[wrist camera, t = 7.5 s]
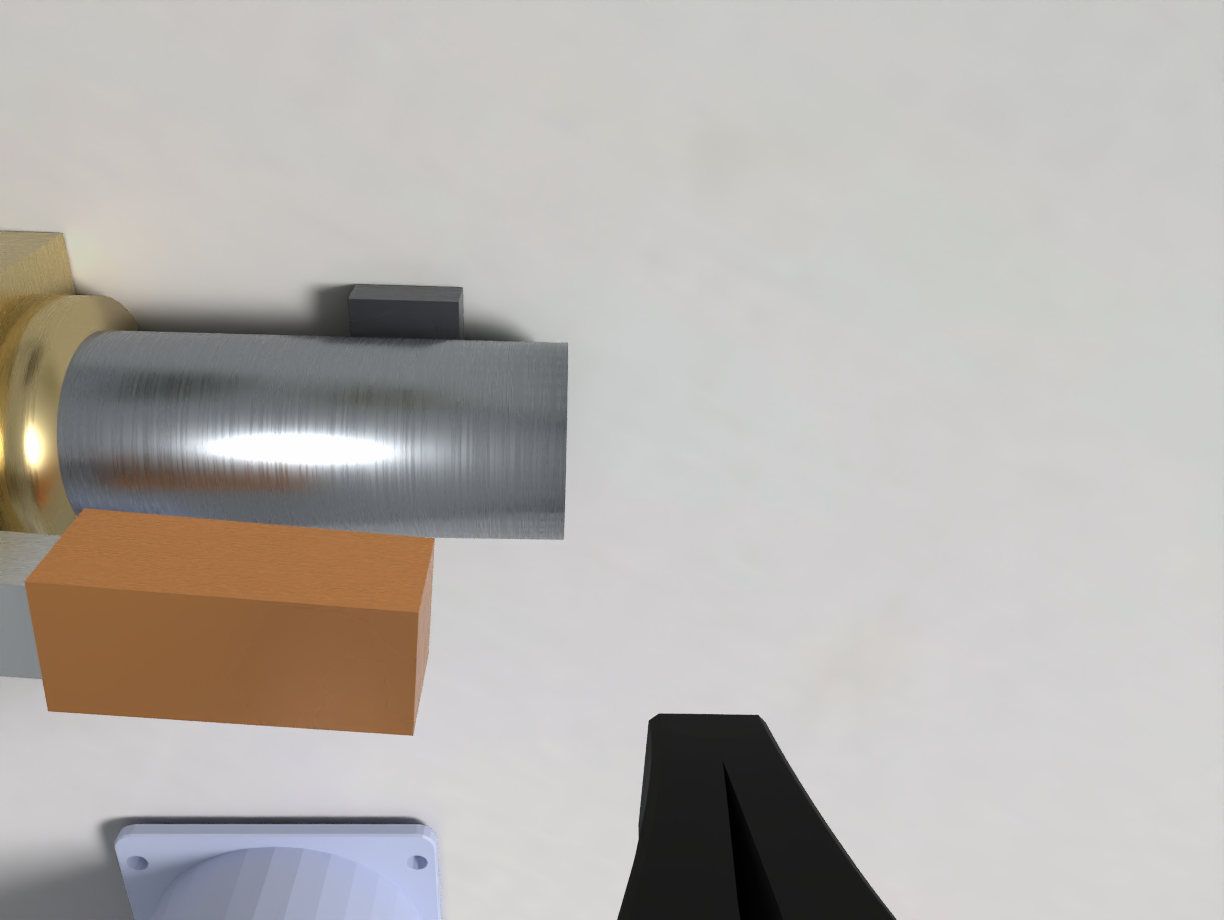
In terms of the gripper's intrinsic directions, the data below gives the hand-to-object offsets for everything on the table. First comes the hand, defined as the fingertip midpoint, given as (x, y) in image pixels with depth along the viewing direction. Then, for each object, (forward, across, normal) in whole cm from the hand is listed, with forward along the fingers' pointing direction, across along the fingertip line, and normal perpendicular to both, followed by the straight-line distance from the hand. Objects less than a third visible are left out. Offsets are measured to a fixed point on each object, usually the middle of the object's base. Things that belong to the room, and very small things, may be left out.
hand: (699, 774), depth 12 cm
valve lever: (+4, +9, 0) cm, 10 cm away
